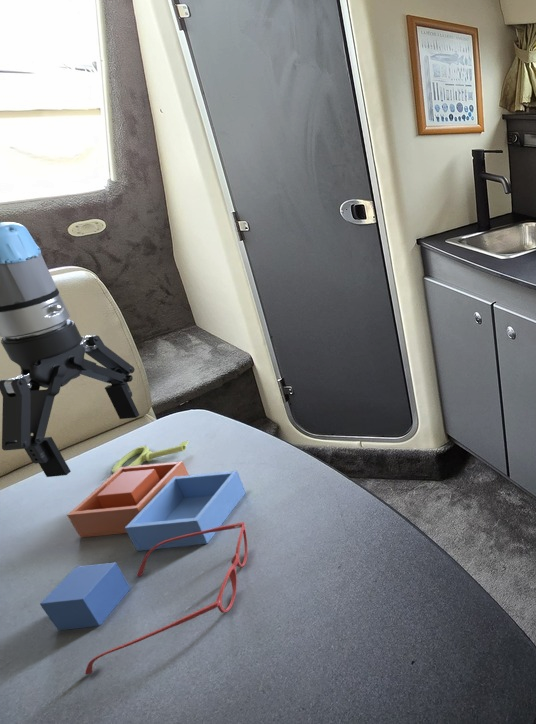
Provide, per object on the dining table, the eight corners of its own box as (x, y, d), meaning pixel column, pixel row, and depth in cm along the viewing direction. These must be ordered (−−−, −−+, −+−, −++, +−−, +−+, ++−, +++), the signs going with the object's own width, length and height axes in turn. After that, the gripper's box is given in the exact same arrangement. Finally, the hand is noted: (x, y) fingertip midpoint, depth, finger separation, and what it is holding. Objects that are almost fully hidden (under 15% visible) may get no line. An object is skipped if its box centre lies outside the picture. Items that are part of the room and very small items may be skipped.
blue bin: (137, 551, 80) (124, 527, 78) (183, 498, 90) (173, 476, 88) (207, 543, 80) (196, 520, 79) (246, 492, 91) (237, 470, 89)
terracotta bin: (80, 537, 83) (66, 515, 81) (131, 487, 93) (120, 466, 91) (148, 530, 83) (136, 508, 81) (192, 482, 93) (182, 461, 92)
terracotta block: (109, 520, 85) (96, 495, 83) (134, 495, 90) (122, 471, 88) (143, 516, 85) (130, 492, 83) (166, 492, 91) (154, 468, 89)
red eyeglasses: (230, 633, 67) (218, 608, 65) (80, 686, 62) (62, 661, 60) (260, 533, 82) (251, 510, 80) (141, 568, 77) (128, 545, 75)
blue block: (57, 630, 68) (39, 603, 66) (92, 592, 73) (76, 566, 71) (99, 626, 69) (82, 599, 67) (131, 588, 74) (116, 562, 72)
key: (189, 454, 101) (185, 446, 100) (110, 480, 95) (105, 471, 94) (194, 434, 106) (190, 426, 106) (120, 458, 101) (115, 449, 100)
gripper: (-27, 372, 61) (50, 501, 69) (130, 292, 84) (174, 395, 92) (-94, 377, 61) (-8, 507, 68) (83, 295, 84) (132, 399, 91)
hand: (97, 443), depth 80 cm, fingers open, 13 cm apart
